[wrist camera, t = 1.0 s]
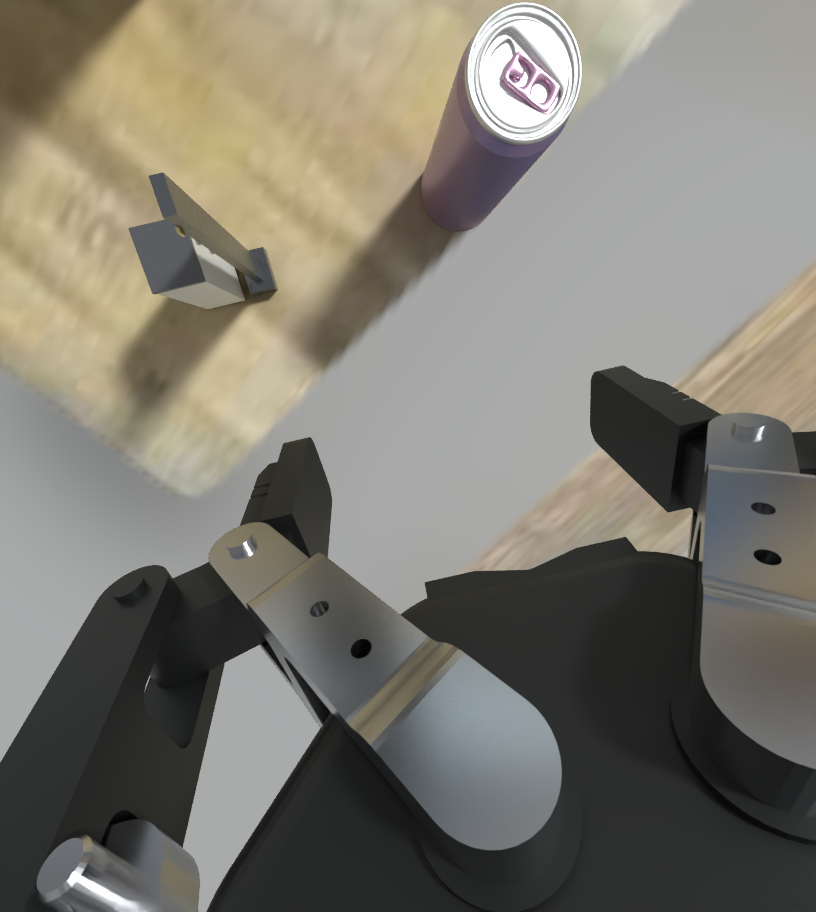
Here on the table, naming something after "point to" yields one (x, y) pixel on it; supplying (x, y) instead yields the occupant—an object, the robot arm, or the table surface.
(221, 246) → the rail
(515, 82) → the beverage can
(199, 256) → the fader knob
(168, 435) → the table surface
